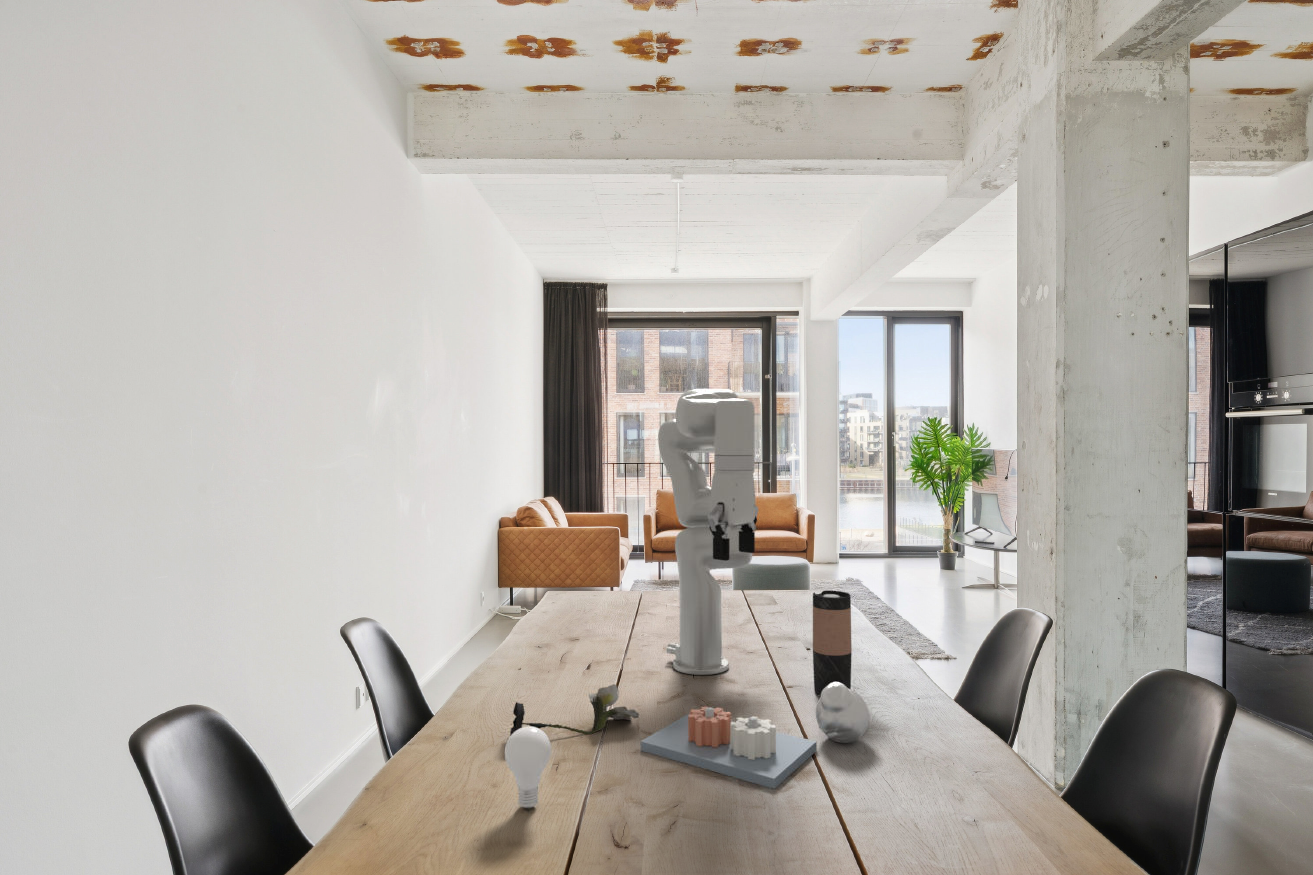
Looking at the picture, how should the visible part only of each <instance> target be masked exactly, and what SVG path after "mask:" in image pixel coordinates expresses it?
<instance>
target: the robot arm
mask: <svg viewBox="0 0 1313 875" xmlns="http://www.w3.org/2000/svg"><path fill="white" fill-rule="evenodd" d="M657 433H658V435H657V440H658V441H657V443H658V450H659V454H660V457H661V460H662V463H663V465H664V467H665V469H666V471H667V473H668V475H669V477H670V481H671V487H672V494H673V500H674V506H675V507H674V508H675V513H676V517H677V519H678V522H679V523H680V525H681V526H683V527H686V528H685V529H683V530H681V531H679V532H678V534H676V537H675V541H674V550H675V557H676V563H677V570H678V571H677V572H678V584H679V585H678V588H679V590H678V592H679V595H678V596H679V643H677V642H676V643H675V642H669V643H668V644H667V647H666V653H667V654H671V655H674V656H675V659H673V661H672V667H673V669H675V670H676V671H678V672H680V673H684V674H688V675H696V676H697V675H698V676H704V675H705V676H709V675H715V674H721V673H723V672H725V671H727V670H728V669H729V666H730V665H729V664H730V663H729V660H728V659H727V658H725V657H723V654H722V653H723V652H722V650H723V647H722V645H723V644H722V642H723V641H722V640H723V638H722V637H723V636H722V634H723V633H722V623H723V622H722V618H723V617H722V589H721V588H722V587H721V586H720V584H719V582H718V581H717V580H716V579H715V577H714V576H713V575H712V574H711V571H712V570H718V569H719V570H720V569H723V570H724V569H742V568H745V567H747V566H748V565H749V564H750V563H751V562H752V559H753V554H754V553H755V552H756V550H755V548H756V547H755V545H756V544H755V542H756V541H755V539H756V533H755V532H756V530H757V527H756V524H757V522H758V518H757V516H758V513H759V507H758V506H757V505H756V491H755V480H754V479H755V478H754V473H755V405H754V403H753V402H752V401H751V400H750V399H747V398H746V399H744V398H739V396H738V395H737V394H736V392H735V391H733V390H731V389H726V388H725V389H722V388H719V389H718V388H715V389H713V388H712V389H711V388H710V389H709V388H695V389H690V390H687V391H685V392H684V393H682V394H681V395H680V397H679V398H678V400H677V403H676V407H675V418H674V419H670V420H667V421H665V422H663V423H662V424H661V425H660V427H659V429H658V432H657ZM690 454H714V457H713V458H714V459H713V460H714V462H713V464H714V466H713V468H714V471H713V476H712V481H711V485H710V486H709V484H708V481H707V480H708V479H707V474H706V471H705V470H704V468H703V467H702V465H700V464H699V463H698V462H697V460H695V459H694V458H693V457H691V456H690Z"/></svg>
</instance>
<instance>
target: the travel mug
mask: <svg viewBox="0 0 1313 875" xmlns="http://www.w3.org/2000/svg"><path fill="white" fill-rule="evenodd" d="M851 602H852V599H851V594H850V593H849V592H846V591H840V590H832V589H831V590H822V591H821V593H815V592H812V664H813V666H812V668H813V686H814V688H813V689H814V693H816V694H815V695H817V696H818V695H820V696H819V697H821V692H822V691H823V689H824V688H825V687H826V686H828V685H829V684H830V683H833V682H839V683H842V684H844V685H845V686H846V687H847V688H848V689H851V688H852V684H851V683H852V655H853V654H852V652H853V650H852V649H853V648H852V606H851V604H852V603H851ZM851 690H852V689H851Z"/></svg>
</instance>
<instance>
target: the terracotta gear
mask: <svg viewBox="0 0 1313 875" xmlns="http://www.w3.org/2000/svg"><path fill="white" fill-rule="evenodd" d="M705 708H709V707H708V706H701V708H699V709H693V708H692V709H691V710H689V713H690V715H688V740H689V741H695V743H696V745H697V746H700V747H702V746H703V745H706V746H712V748H714V747H718V745H721V744H722V743H723V744H729V743H730V724H731V721H732V713H731V711H724V709H723V708H722V707H716V708H714V707H712V708H713V709H714V717H709V718H708V717H705Z"/></svg>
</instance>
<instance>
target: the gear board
mask: <svg viewBox="0 0 1313 875" xmlns="http://www.w3.org/2000/svg"><path fill="white" fill-rule="evenodd" d="M713 708H714V707H708V708H705V717H708V718H709V717H714V709H715V708H714V709H713ZM688 715H690V712H689V713H688V714H685V715H684V716H683V717H682V716H681V718H679V719H677V720H676V721H673V722H672V723H670V724H668V725H667V726H665V727H663V728H661V729H659V730H658V731H657V732H655V733H653V734H651V735H649V736H648V737H646V738H644V739H642V740H641V741H640V751H642V752H645V753H649V754H651V755H655V756H659V757H662V758H666V759H669V760H672V761H676V762H679V763H683V762H684V764H686V763H687V765H689V764H691V765H690V766H693V765H694V766H693V767H696V766H698V767H697V768H700V767H701V768H700V769H703V768H705V769H704V770H707V769H709V770H708V771H710V770H711V771H712V772H714V771H715V773H717V772H718V774H721V775H725V776H728V777H731V776H732V777H731V778H734V779H738V780H742V781H746V782H747V783H748V782H749V783H752V784H756V785H760V786H762V787H766V788H769V789H773V790H775V789H776V788H777V787H778V786H780V785H781V783H783V782H784V781H785V780H787V778H788V777H789V776H790V775H792V774H793V773H794V772H795V771H796V770H797V769H798V768H799V767H800V766H802V765H803V764H804V763H805V762H806V761H807V760H808V759H809V758H810V757H811V756H812V755H814V754H815V753H816V752H817V751H818V750H817V749H818V748H817V741H816V740H812V739H807V738H803V737H799V736H795V735H791V734H786V733H782V732H780V731H776V753H771V757H770V758H767V759H765V758H763V757H760V758H756V757H755V760H751V759H748V757H744V756H743V755H741V756H736V755H734V750H731V748H730V743H729V744H723V743H722V744H721V745H718V747H714V748H712V746H706V745H703V746H702V747H700V746H697V745H696V743H695V741H689V740H688ZM748 718H749V719H748V722H749V728H757V718H751V717H748ZM731 722H734V721H733V720H731ZM816 750H817V751H816ZM814 752H815V753H814Z"/></svg>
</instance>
